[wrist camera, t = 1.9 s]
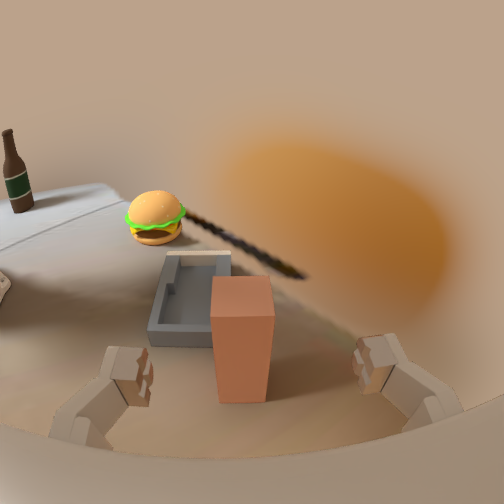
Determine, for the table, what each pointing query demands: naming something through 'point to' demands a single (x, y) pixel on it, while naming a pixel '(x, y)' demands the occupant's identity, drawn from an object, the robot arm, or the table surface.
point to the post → (242, 336)
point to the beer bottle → (16, 176)
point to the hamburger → (155, 217)
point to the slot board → (186, 298)
